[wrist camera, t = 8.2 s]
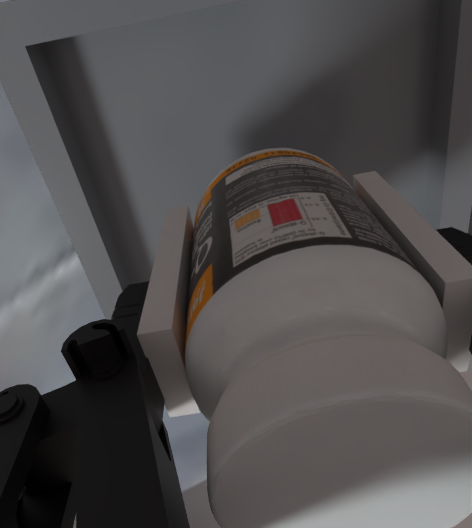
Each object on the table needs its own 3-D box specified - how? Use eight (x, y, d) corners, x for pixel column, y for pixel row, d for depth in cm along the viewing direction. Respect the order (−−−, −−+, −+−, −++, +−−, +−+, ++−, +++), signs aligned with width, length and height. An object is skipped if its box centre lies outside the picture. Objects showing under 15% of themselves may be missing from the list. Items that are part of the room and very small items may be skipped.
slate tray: (3, 9, 14) (-32, 9, 12) (469, -91, 13) (515, -109, 11) (139, 345, 23) (132, 378, 21) (432, 296, 22) (455, 326, 20)
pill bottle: (169, 177, 14) (98, 434, 5) (334, 117, 13) (554, 307, 5) (226, 304, 17) (239, 601, 8) (365, 260, 16) (537, 540, 7)
